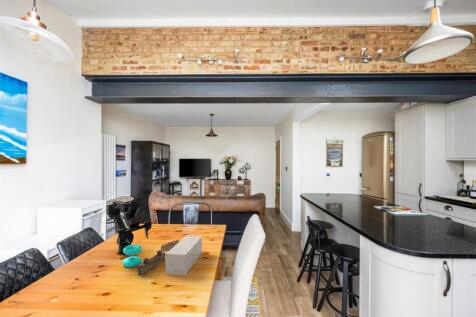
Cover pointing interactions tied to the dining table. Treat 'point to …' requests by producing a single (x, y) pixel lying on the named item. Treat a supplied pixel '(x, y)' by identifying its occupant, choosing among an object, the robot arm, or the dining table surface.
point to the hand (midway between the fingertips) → (139, 241)
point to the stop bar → (151, 263)
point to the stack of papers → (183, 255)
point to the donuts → (132, 260)
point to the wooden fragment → (169, 246)
